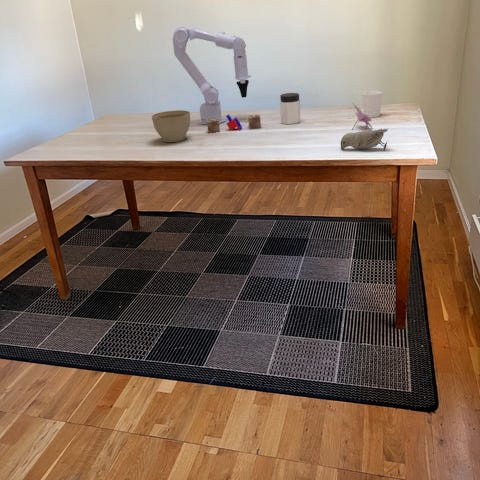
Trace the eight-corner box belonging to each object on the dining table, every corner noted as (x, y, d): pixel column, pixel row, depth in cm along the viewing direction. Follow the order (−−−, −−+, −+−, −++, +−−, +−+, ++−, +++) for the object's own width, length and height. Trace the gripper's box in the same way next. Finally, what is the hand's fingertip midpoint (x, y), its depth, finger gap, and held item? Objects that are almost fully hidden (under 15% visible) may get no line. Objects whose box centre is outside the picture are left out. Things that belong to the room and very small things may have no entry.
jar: (304, 121, 220) (303, 93, 215) (291, 125, 216) (290, 97, 211) (290, 119, 227) (289, 92, 222) (277, 122, 222) (275, 95, 217)
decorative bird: (341, 147, 180) (341, 127, 176) (387, 147, 175) (388, 126, 172) (339, 152, 175) (339, 131, 172) (387, 152, 170) (388, 130, 167)
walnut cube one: (249, 129, 216) (248, 117, 214) (249, 127, 221) (248, 115, 218) (261, 128, 216) (260, 116, 214) (260, 125, 221) (259, 114, 218)
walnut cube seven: (208, 133, 216) (206, 121, 214) (208, 130, 221) (207, 119, 219) (219, 132, 216) (218, 120, 214) (219, 129, 221) (218, 118, 219)
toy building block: (234, 132, 221) (225, 116, 219) (242, 127, 219) (232, 111, 217) (232, 134, 218) (222, 118, 216) (240, 129, 216) (230, 113, 214)
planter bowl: (187, 144, 203) (183, 117, 198) (150, 145, 206) (145, 119, 202) (197, 134, 217) (194, 108, 212) (163, 135, 220) (159, 110, 216)
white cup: (358, 116, 220) (359, 93, 216) (373, 113, 223) (373, 90, 218) (370, 119, 214) (370, 95, 209) (384, 115, 216) (385, 92, 212)
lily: (370, 135, 194) (380, 112, 192) (341, 124, 195) (352, 100, 193) (368, 137, 206) (378, 115, 203) (341, 126, 207) (351, 104, 205)
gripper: (250, 67, 217) (253, 98, 222) (248, 63, 230) (251, 93, 236) (234, 69, 217) (237, 100, 223) (233, 65, 230) (237, 95, 236)
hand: (244, 97), depth 229 cm, fingers closed
